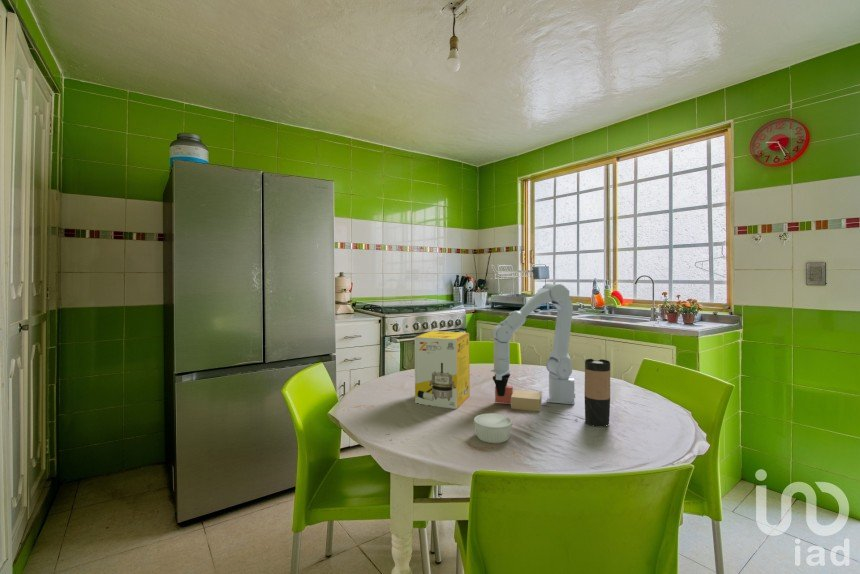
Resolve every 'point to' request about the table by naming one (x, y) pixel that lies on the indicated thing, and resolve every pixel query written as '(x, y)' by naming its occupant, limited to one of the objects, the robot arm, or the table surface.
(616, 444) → the table surface
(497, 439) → the ramekin
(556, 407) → the table surface
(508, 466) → the table surface
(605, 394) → the travel mug
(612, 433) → the table surface
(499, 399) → the red and white box
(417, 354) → the packaging box
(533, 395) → the sleeve
